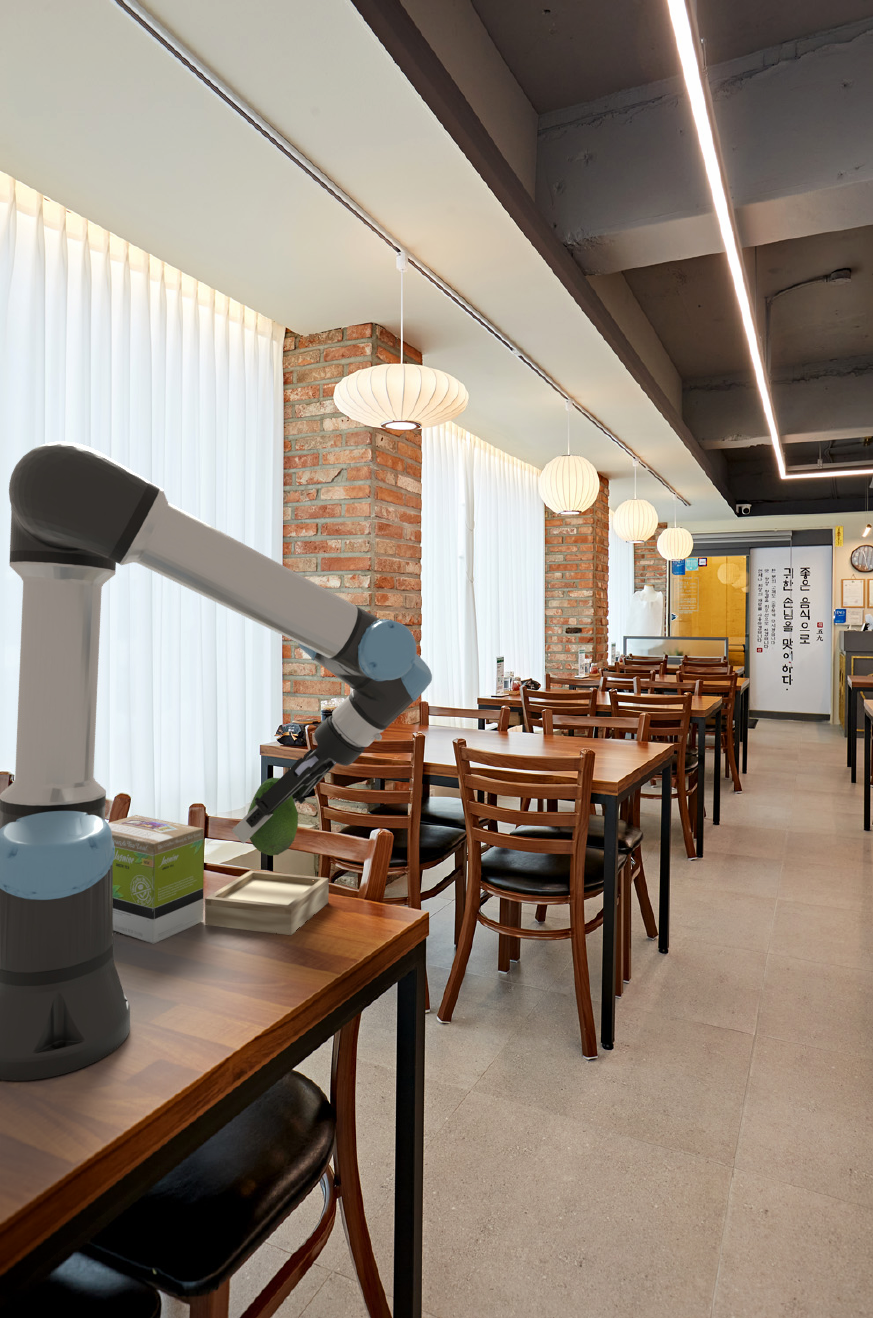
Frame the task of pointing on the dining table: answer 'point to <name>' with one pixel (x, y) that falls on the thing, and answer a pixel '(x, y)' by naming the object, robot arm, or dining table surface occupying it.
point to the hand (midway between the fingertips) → (252, 829)
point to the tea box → (156, 877)
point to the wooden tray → (267, 902)
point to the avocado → (275, 824)
